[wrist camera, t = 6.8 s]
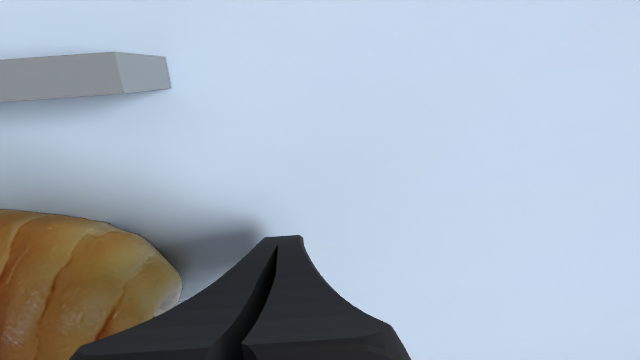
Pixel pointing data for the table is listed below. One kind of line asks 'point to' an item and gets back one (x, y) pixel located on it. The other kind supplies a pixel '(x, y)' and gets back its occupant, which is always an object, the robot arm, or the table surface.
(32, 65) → the chute dock
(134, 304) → the pastry
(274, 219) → the table surface
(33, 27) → the table surface
